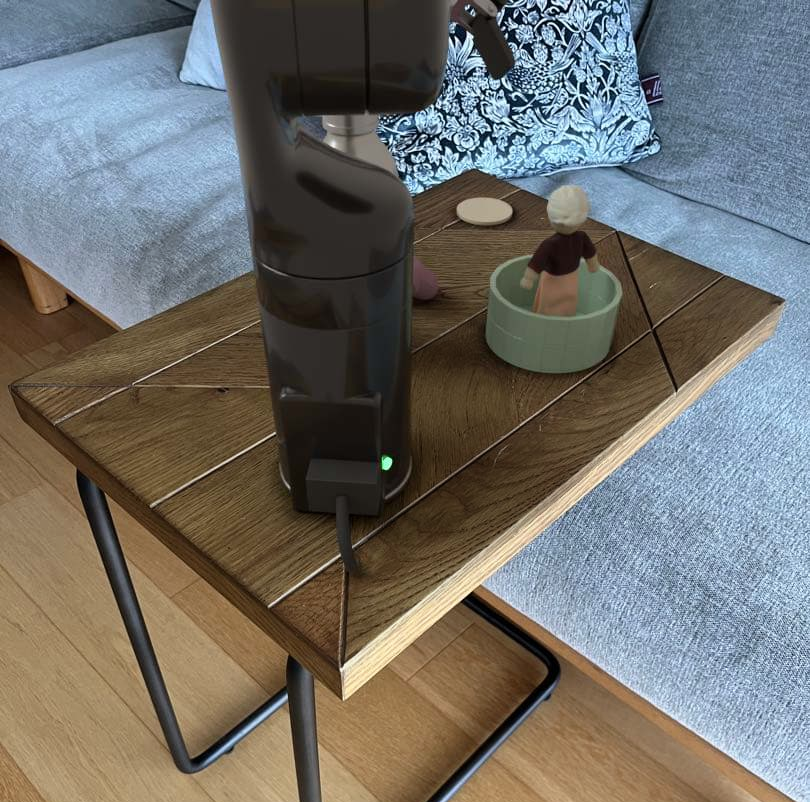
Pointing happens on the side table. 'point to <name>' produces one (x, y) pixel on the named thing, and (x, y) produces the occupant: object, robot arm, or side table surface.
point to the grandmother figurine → (561, 254)
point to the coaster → (484, 211)
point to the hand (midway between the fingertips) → (471, 86)
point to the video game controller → (423, 281)
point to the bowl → (551, 321)
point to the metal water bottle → (359, 139)
